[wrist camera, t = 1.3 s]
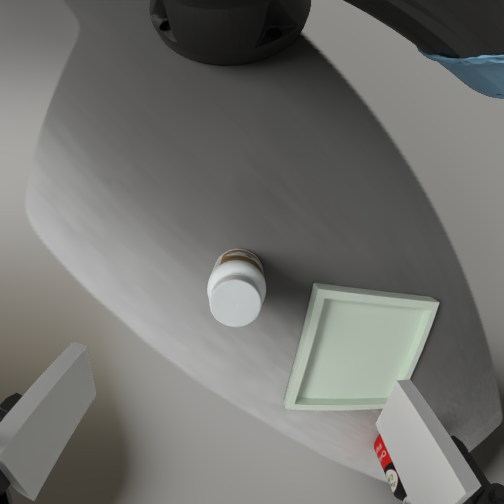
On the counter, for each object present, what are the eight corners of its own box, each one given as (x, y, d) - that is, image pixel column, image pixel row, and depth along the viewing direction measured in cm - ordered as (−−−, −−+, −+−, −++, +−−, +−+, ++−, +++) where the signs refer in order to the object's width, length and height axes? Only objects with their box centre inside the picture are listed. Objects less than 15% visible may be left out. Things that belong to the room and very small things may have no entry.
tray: (313, 282, 27) (317, 288, 25) (430, 296, 28) (439, 302, 26) (283, 398, 30) (285, 409, 28) (390, 398, 31) (395, 407, 29)
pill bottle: (270, 257, 27) (279, 286, 19) (252, 301, 27) (254, 342, 20) (223, 240, 26) (214, 262, 19) (207, 284, 27) (193, 320, 20)
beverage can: (396, 414, 32) (431, 476, 20) (418, 424, 32) (452, 479, 21) (363, 443, 33) (389, 507, 21) (388, 451, 33) (414, 507, 22)
